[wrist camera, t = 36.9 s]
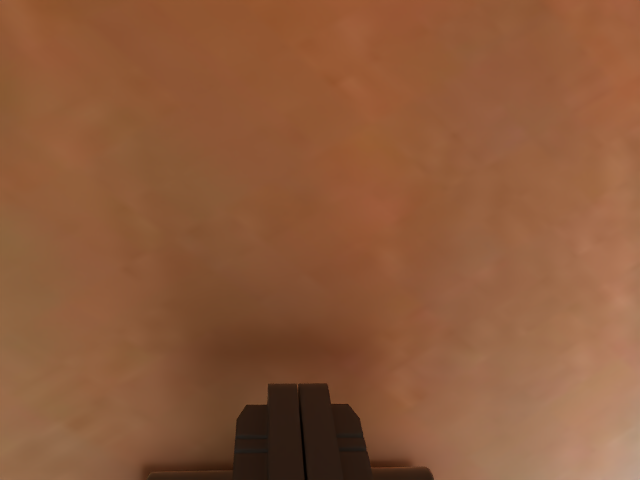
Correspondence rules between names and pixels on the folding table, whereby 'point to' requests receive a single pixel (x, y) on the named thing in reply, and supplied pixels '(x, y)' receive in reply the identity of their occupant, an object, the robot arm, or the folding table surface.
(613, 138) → the folding table surface
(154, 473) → the drawer
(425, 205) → the folding table surface
